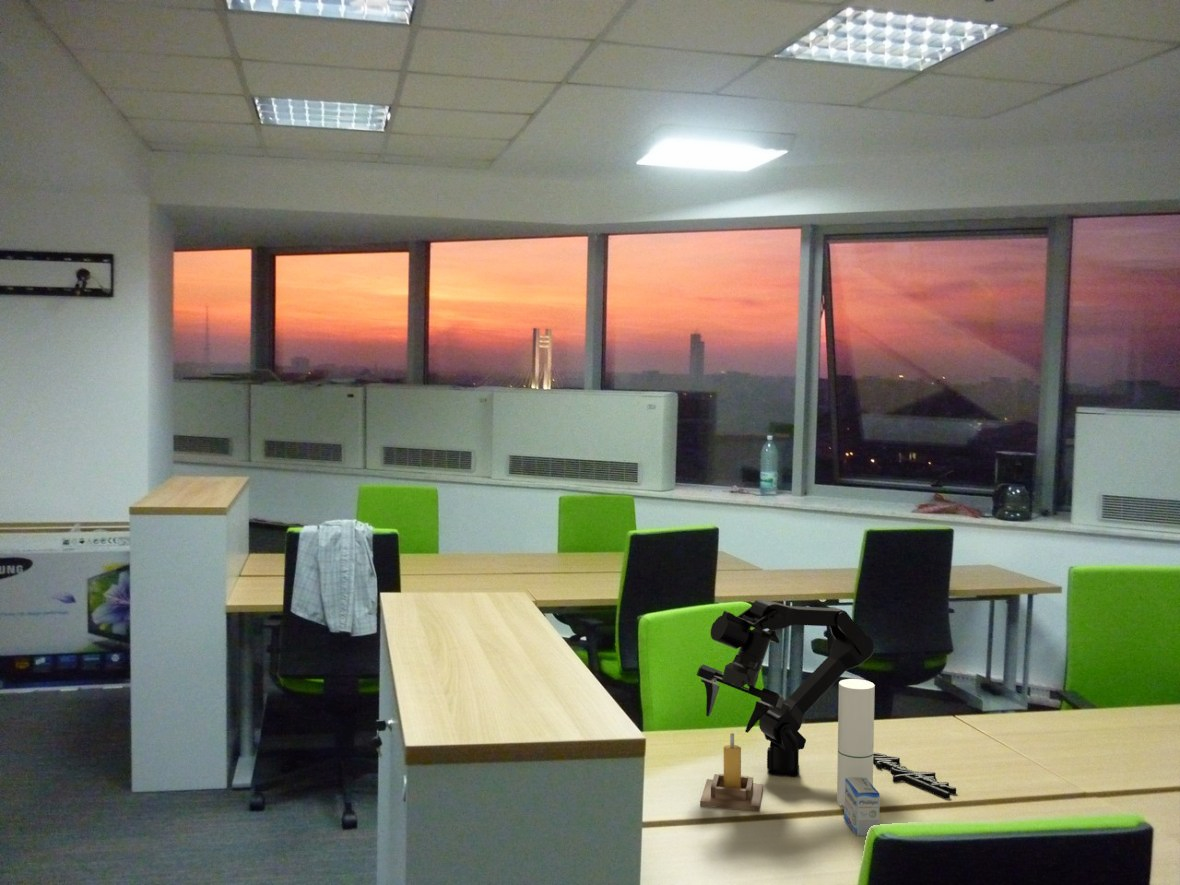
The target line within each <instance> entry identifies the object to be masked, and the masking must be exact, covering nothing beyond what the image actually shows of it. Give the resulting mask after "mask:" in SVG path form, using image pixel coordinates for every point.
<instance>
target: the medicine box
mask: <svg viewBox="0 0 1180 885" xmlns="http://www.w3.org/2000/svg"><path fill="white" fill-rule="evenodd" d="M880 796H881V795H880V792H879V791H878V790H877V789H876V788H875V786H874V785H873V786H872V784H871V783H870V782H869V781H868V780H867V779H866V778H863V777H851V778H846V779H845V804H844V807H843V810H844V811H843V812H844V813H843V819H844V820H845V822H846V823H847V825H848V826H849V827H850V828H851V829H852V831H853V832H854V834H856V836H857V837H867V836H866V835H867V832H868V830H869V828H870V827H871V826H873V825H878V824H879V825H880V805H881V804H880V803H881V801H880V800H881V797H880Z"/></svg>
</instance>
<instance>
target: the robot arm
mask: <svg viewBox="0 0 1180 885" xmlns="http://www.w3.org/2000/svg"><path fill="white" fill-rule="evenodd" d="M791 626H809V627H810V626H811V627H813V626H814V627H816V626H817V627H829V630H830V633H831V635H832V637H833V638H834V640H833V642H832V644H831V646H830V647H831V648H830V652H829V655H828V656H827V657H826V658H825V659H824V660H823V662H822V663H820V664H819V665H818V667H817V668H815V670H814V671H813V672H812V673H811V674H810V675H808V677H807V678H806V679H805V680H804V681H803V682H802V683H801V684H800V685H799V686H798V687H797V688H796V689H795V691H793V692H792V693H791V695H790V696H789V697H788V698H786V699H785V698H784V695H783V694H780V693H777V692H776V691H773V690H770V689H767V688H765V687H763V688H762V689H760V688H757V687H756V685H757V682H758V679H759V674H760V672H761V670H763V663H764V660H765V657H766V654H767V653H768V649H769V646H770V643H771V642H772V643H776V644H779V643H780V639H779V638H778V636H777V632H776V631H777V630H782V629H787V628H789V627H791ZM751 628H753V629H751ZM767 629H768V630H767ZM710 638H711V639H712V641H715V642H718V643H720V644H722V645H725V646H727V647H730V648H732V649H734V650H736V649H738V652H737V654H735V656H734V658H733V661H731V662H729V663H728V664H725V665H724V670H723V671H722V670H718V669H716V668H713V667H712V666H709V665H706V664H702V665H700V666H699V667H698V670H697V672H696V676H697V677H700V678H701V679H700V682H702V683H703V684H704V688H705V693H706V695H705V696H706V704H705V706H706V713H705V714H706V715H705V716H706V717H710V715H711V714H712V711H713V708H714V707H715V703H716V700H717V696H718V693H719V690H720V685H719V683H721V684H724V685H726V686H729V687H730V688H734V689H736V690H738V691H741V692H744V693H746V694H748V695H752V696H754V697H756V698H759V700H760V701H758V700H756V701H755V705H754V709H753V711H752V714H751V716H750V717H749V720H748V721H747V724H746V728H745V730H744V731H745V733H748V734H749V732H750V731H751V730H752V729H753V727H754V726H755V725H756V724H757V723H758V722H759V723H758V727H759V729H760V732H762V733H763V735H764V738H765V740H767V741H769V746H768V747H767V751H766V752H767V753H766V760H767V761H766V769H767V770H768V775H771V776H782V777H790V778H791V777H795V778H798V777H800V776H799V775H800V764H799V757H800V753H799V752H800V750H804V748H805V745H806V742H807V739H806V737H804V736H803V735H802V734H801V733H800V732H799V730H800V729H801V727H802V724H803V719H804V716H805V714H806V713H807V712H808V711H809V710H810V709H811V708H812V707H813V706H814V705H815V704H816V702H818V701H819V699H820V698H822V696H823V695H824V694H825V693H826V692H827V691H828V690H829V689H830V688H831V687H832V686H833V685H834V684H835V683H836V681H837V680H839V678H840V677H841V676H842V675H843V674H844V673H845V672H846V671H848V670H850V669H854V668H856V667H859V666H860V665H862V664H863V663H864V662H866V661H867V660H868V659H870V657H871V656H872V655H873V654H874V652H875V651H874V648H875V647H874V646H875V645H874V640H873V639H872V637H871V636H869V635H867V634H866V633H865V631H863V629H862V628H861V627H860V626H859V625H858V624H857V623H856V622H855V621H854V620H853V619H852V617H851V616H850V614H849V613H848V612H847V611H846V610H844V609H841V608H838V607H835V606H832V607H818V606H815V607H814V606H798V605H796V606H795V605H785V604H783V603H779V602H777V601H776V602H775V601H772V600H769V599H764V598H759V599H756V600H755V601H754V602H753V603H752V604H751V606H750V607H748V609H745V610H744V611H743V612H741V613H740V614H739V615H737V616H736V615H735V614H734V613H732V612H730V611H726V610H724V611H723V613H722V614H721V615H718V617H717V618H716V619H715V621H714V622H713V623H712V624H711V627H710ZM717 684H718V685H717ZM746 685H747V687H745V686H746Z"/></svg>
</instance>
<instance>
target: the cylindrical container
mask: <svg viewBox="0 0 1180 885" xmlns="http://www.w3.org/2000/svg"><path fill="white" fill-rule="evenodd" d="M875 686H876V685H875V684H874V683H873V682H871V681H869V680H865V679H860V678H859V679H858V678H847V679H846V678H845V679H841V680H840V681H839V682H838V712H837V713H838V714H837V715H838V716H837V720H838V722H837V768H836V769H837V777H836V778H837V782H836V783H837V784H836V786H837V787H836V802H838V803H839V804H841V805H843V806H844V804H845V779H846V778H851V777H863V778H866V779H867V780H868V781H869V782H870V783H871V784H872V786H873V787H874V764H873V753H874V748H875V747H874V741H875V740H874V739H875ZM838 803H837V804H838ZM839 804H838V805H839ZM841 805H840V806H841ZM843 806H842V807H843Z"/></svg>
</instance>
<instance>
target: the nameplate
mask: <svg viewBox="0 0 1180 885" xmlns="http://www.w3.org/2000/svg"><path fill="white" fill-rule="evenodd" d="M900 758H901V757H897V756H889V755H887V754H884V753H879V752H873V765H875V768H876V769H878V770H882V769H886V770H888V771H890V774H891V775H892V783H899V782H905V783H907V784H910V785H912V786H914V787H917V788H919V789H921V790H924V791H926V792H929V793H931V794H933V795H936V796H938V797H941V798H943V799H945V800H949V799H950V798H951V795H956V794H957V788H956V787H953V786H950V783H949V782H947V781H946V782H941V781H940V782H939V781H938V780H937V779H936V772H934V771H914V770H912V769H911V770H910V769H908V768H907V767H906V766H904V765H903V766H902V765H899V764H900V761H901V760H900Z"/></svg>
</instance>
